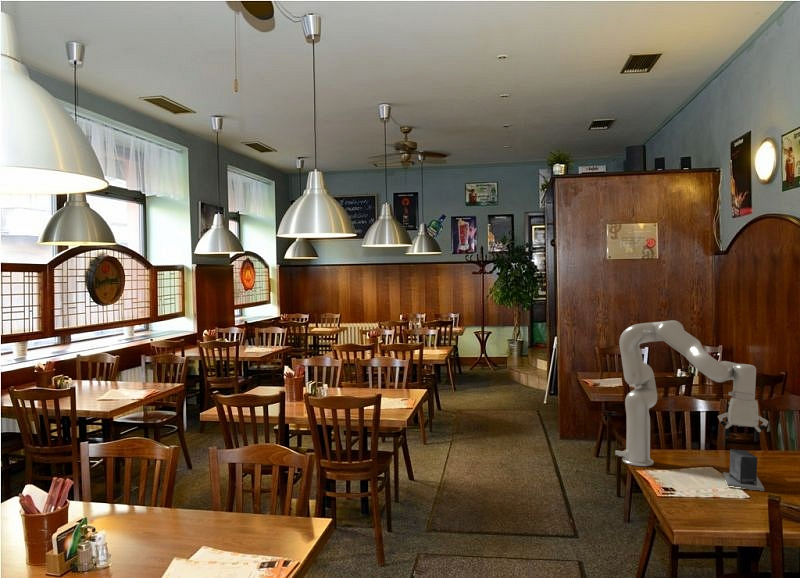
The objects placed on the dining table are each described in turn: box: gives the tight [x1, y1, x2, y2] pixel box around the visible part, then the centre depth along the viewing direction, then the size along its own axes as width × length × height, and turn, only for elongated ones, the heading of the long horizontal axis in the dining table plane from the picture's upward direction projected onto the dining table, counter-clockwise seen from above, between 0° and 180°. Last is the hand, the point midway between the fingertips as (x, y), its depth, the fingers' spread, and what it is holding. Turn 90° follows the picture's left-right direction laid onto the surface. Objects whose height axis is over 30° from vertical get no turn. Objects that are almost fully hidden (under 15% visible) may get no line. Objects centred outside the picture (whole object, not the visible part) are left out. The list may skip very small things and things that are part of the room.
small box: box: [728, 448, 758, 484], centre depth 237 cm, size 11×6×10 cm, turn 173°
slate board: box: [722, 471, 765, 492], centre depth 237 cm, size 12×15×2 cm
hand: (741, 439), depth 238 cm, fingers open, 9 cm apart
